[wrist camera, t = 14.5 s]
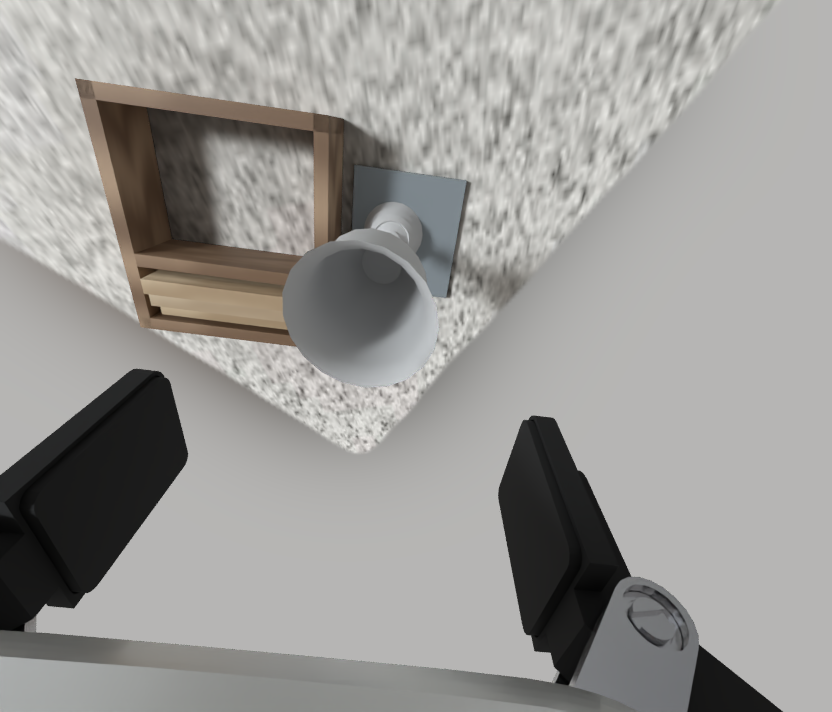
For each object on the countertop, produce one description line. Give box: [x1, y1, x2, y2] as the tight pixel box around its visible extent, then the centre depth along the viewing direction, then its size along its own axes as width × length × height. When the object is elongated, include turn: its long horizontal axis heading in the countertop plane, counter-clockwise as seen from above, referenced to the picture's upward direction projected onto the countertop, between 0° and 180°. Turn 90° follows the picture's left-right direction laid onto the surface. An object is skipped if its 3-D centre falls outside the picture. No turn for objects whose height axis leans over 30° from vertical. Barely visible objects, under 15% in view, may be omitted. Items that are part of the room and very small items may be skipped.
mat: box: [352, 165, 467, 298], centre depth 33 cm, size 10×9×1 cm
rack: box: [75, 79, 344, 347], centre depth 31 cm, size 18×16×5 cm
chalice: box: [282, 202, 439, 387], centre depth 25 cm, size 7×7×18 cm
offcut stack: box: [140, 269, 288, 330], centre depth 33 cm, size 4×12×6 cm, turn 83°
